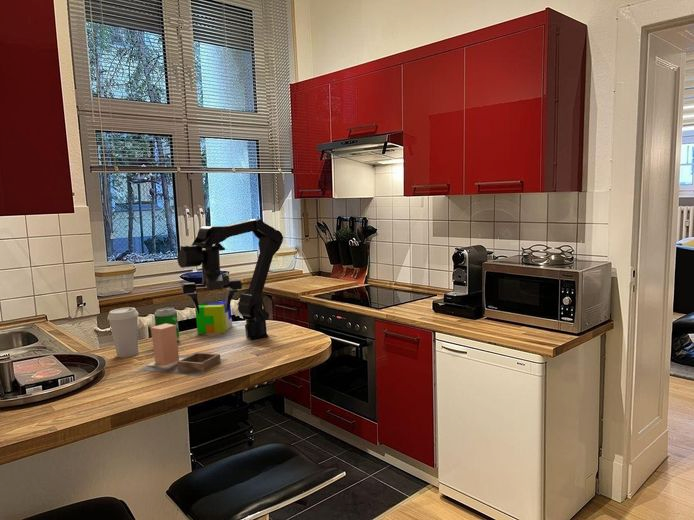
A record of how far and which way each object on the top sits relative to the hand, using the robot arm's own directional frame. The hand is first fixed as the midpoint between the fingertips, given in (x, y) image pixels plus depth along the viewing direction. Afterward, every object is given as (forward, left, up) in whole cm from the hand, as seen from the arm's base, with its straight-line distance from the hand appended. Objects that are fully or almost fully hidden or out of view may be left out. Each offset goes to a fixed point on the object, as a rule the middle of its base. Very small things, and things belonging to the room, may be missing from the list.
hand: (212, 312), depth 168 cm
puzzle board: (+13, +13, -13) cm, 22 cm away
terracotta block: (+17, +8, -11) cm, 22 cm away
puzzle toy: (-6, -25, -13) cm, 29 cm away
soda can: (+12, -19, -13) cm, 26 cm away
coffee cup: (+26, -13, -13) cm, 32 cm away
